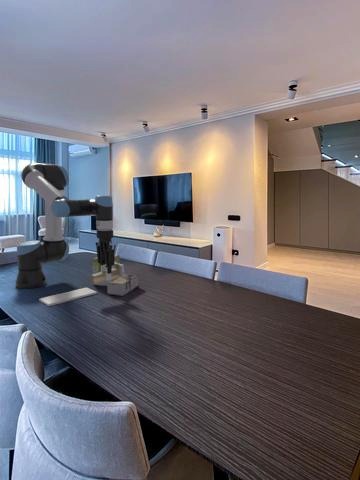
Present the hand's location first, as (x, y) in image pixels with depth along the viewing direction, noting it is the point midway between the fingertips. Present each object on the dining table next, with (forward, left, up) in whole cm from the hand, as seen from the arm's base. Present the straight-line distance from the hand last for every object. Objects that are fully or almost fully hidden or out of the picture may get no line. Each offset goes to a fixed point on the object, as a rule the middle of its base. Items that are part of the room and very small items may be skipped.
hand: (106, 279), depth 142 cm
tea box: (-24, +15, -10) cm, 30 cm away
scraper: (0, 0, 0) cm, 0 cm away
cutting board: (-14, -12, -10) cm, 21 cm away
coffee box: (-1, +5, -6) cm, 8 cm away
